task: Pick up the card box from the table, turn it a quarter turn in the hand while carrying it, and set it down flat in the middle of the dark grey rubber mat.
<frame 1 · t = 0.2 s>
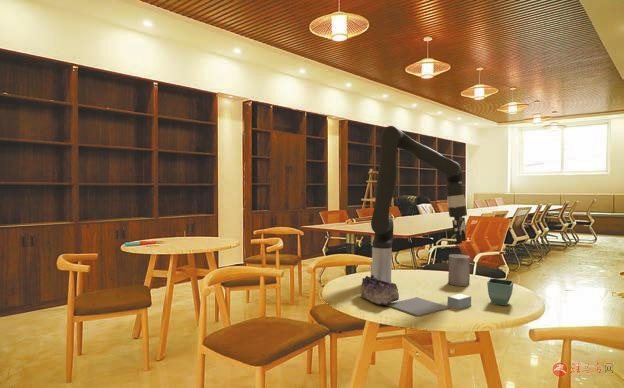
hand: (461, 242, 178), 22 cm above the table, fingers open, 8 cm apart
flower pot: (500, 304, 162), on the table
rubber mat: (417, 307, 156), on the table
card box: (459, 306, 158), on the table
pillar candle: (458, 284, 194), on the table
geode: (376, 300, 164), on the table, touching rubber mat
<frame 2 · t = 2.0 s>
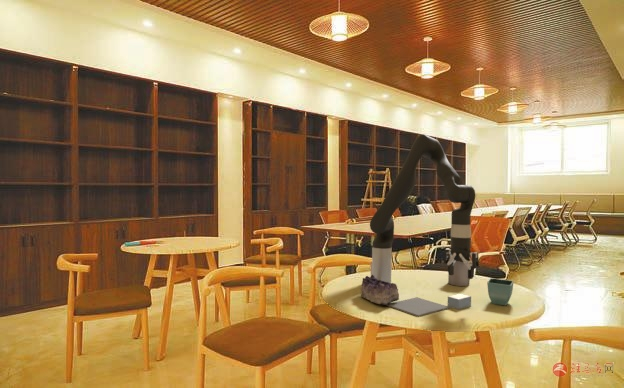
hand: (460, 276, 158), 12 cm above the table, fingers open, 8 cm apart
nothing on the table moved.
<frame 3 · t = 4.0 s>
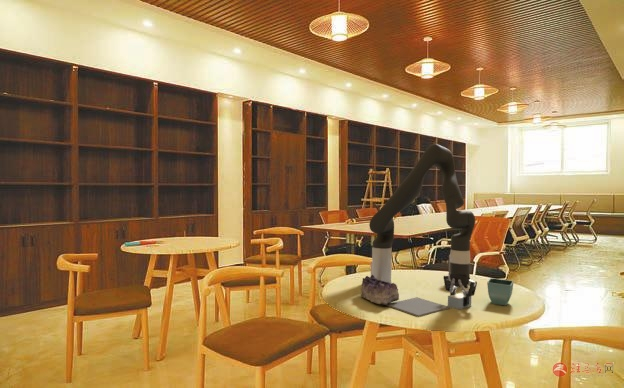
hand: (459, 304, 158), 1 cm above the table, fingers closed on card box, 5 cm apart
card box: (459, 306, 158), on the table, touching gripper
everything else where it was.
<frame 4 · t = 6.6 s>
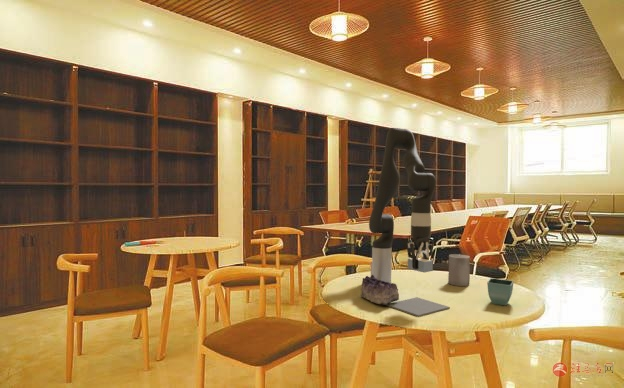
hand: (420, 267, 156), 15 cm above the table, fingers closed on card box, 5 cm apart
card box: (420, 269, 156), point 14 cm above the table, touching gripper
everything else where it was.
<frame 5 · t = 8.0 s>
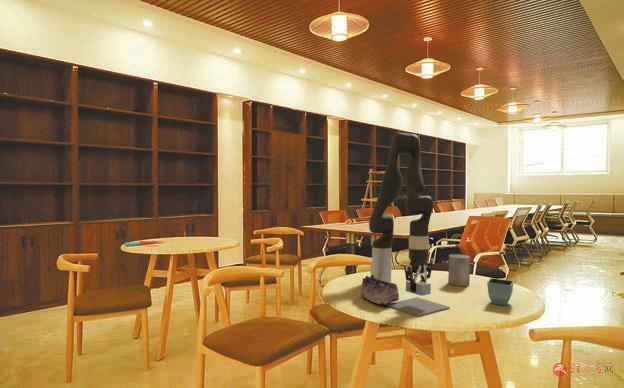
hand: (418, 290, 156), 6 cm above the table, fingers closed on card box, 5 cm apart
card box: (418, 292, 156), point 6 cm above the table, touching gripper
everything else where it was.
when the fingers open (2 cm above the table, at t = 9.2 s): card box stays where it is, resting on rubber mat.
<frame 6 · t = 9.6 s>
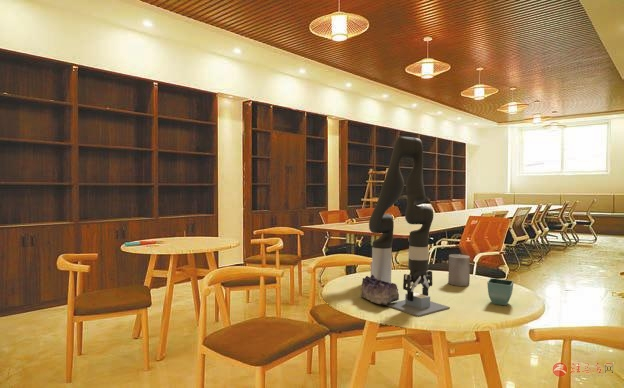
hand: (417, 299, 156), 3 cm above the table, fingers open, 8 cm apart
card box: (417, 305, 156), point 1 cm above the table, touching rubber mat
everything else where it was.
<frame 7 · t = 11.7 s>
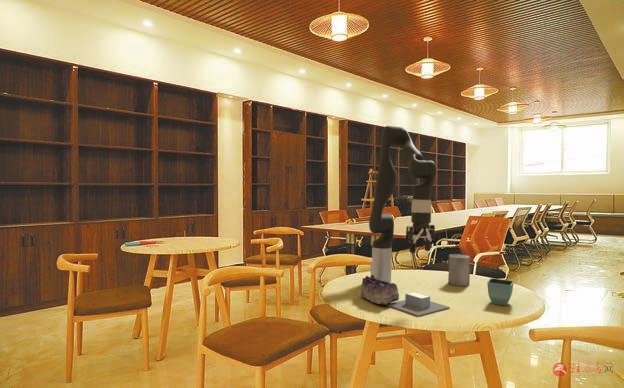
hand: (420, 251, 159), 21 cm above the table, fingers open, 8 cm apart
nothing on the table moved.
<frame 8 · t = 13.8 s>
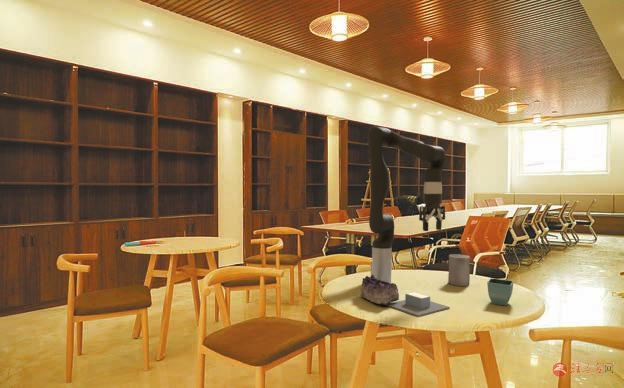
hand: (432, 230, 173), 28 cm above the table, fingers open, 8 cm apart
nothing on the table moved.
at the end: card box inside the target area on the rubber mat (0.1 cm from its centre), point 0.6 cm above the rubber mat's base; card box tilted 0°; the gripper is holding nothing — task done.
